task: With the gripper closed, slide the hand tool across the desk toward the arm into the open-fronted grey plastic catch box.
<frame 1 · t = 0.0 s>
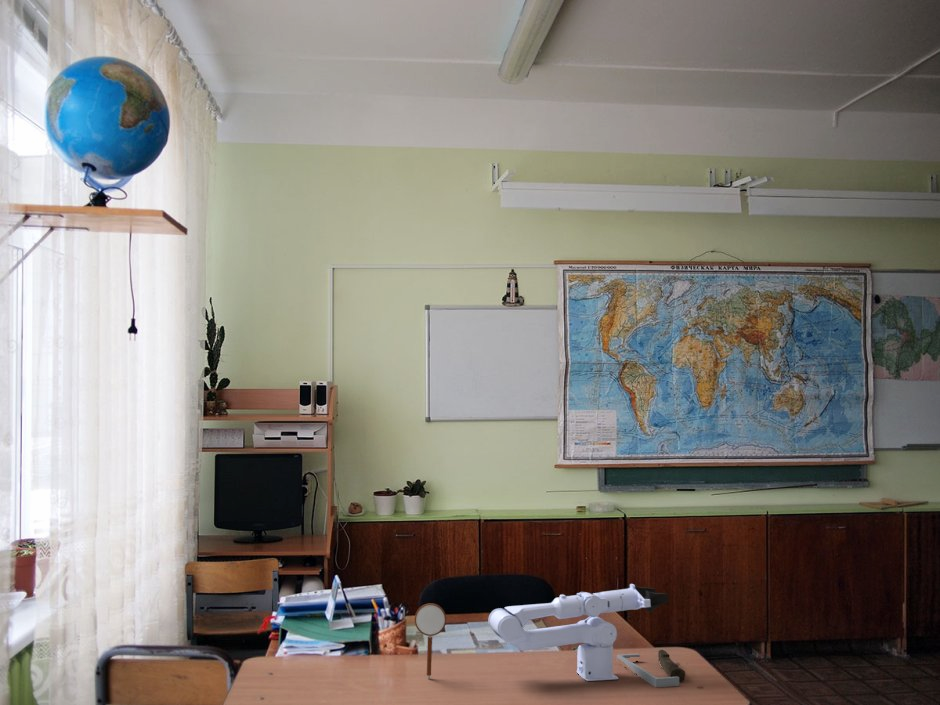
hand: (661, 594, 237), 22 cm above the table, tool horizontal, fingers open, 7 cm apart
catch box: (648, 673, 234), on the table
hand tool: (666, 674, 235), on the table
magnifying glass: (428, 679, 224), on the table
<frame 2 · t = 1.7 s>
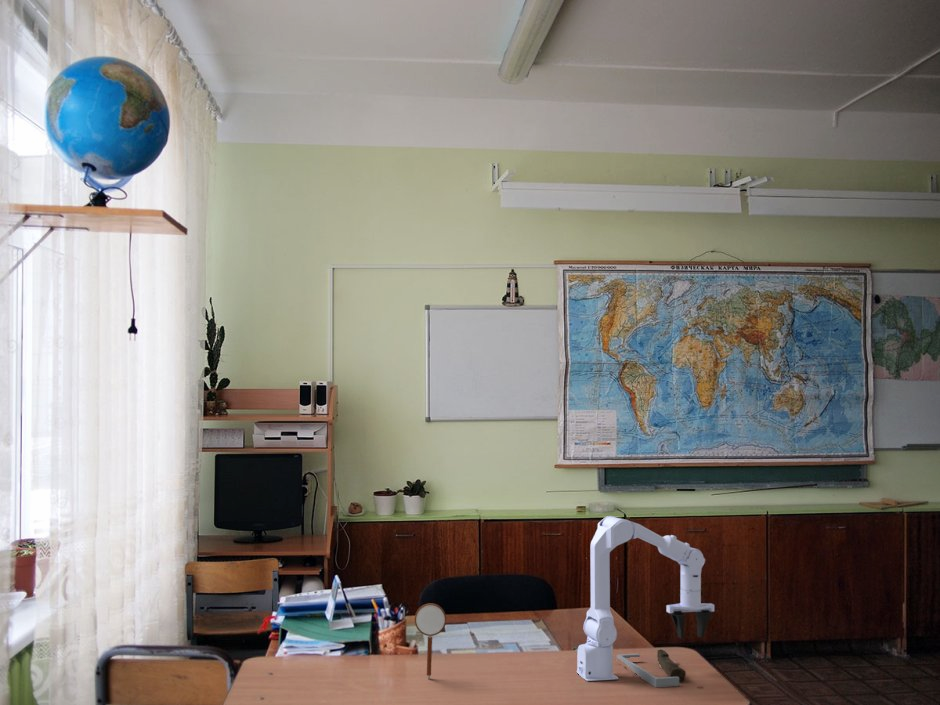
hand: (690, 637, 238), 9 cm above the table, tool pointing down, fingers open, 6 cm apart
nothing on the table moved.
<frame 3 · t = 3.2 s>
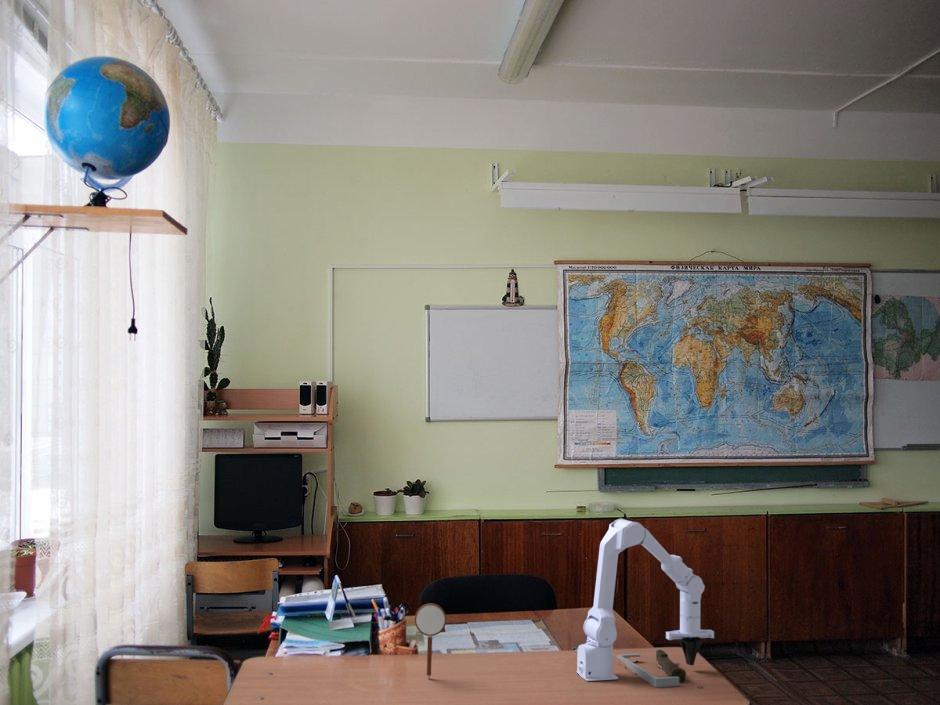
hand: (690, 664, 238), 2 cm above the table, tool pointing down, fingers closed
nothing on the table moved.
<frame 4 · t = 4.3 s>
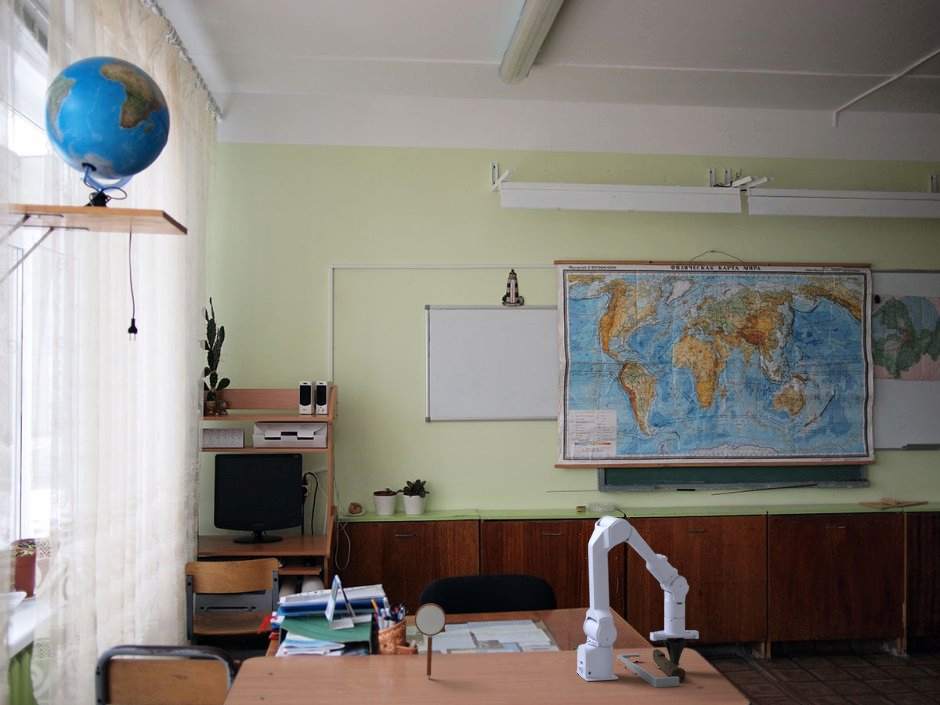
hand: (674, 665, 236), 2 cm above the table, tool pointing down, fingers closed
hand tool: (664, 673, 235), on the table, touching gripper
everything else where it was.
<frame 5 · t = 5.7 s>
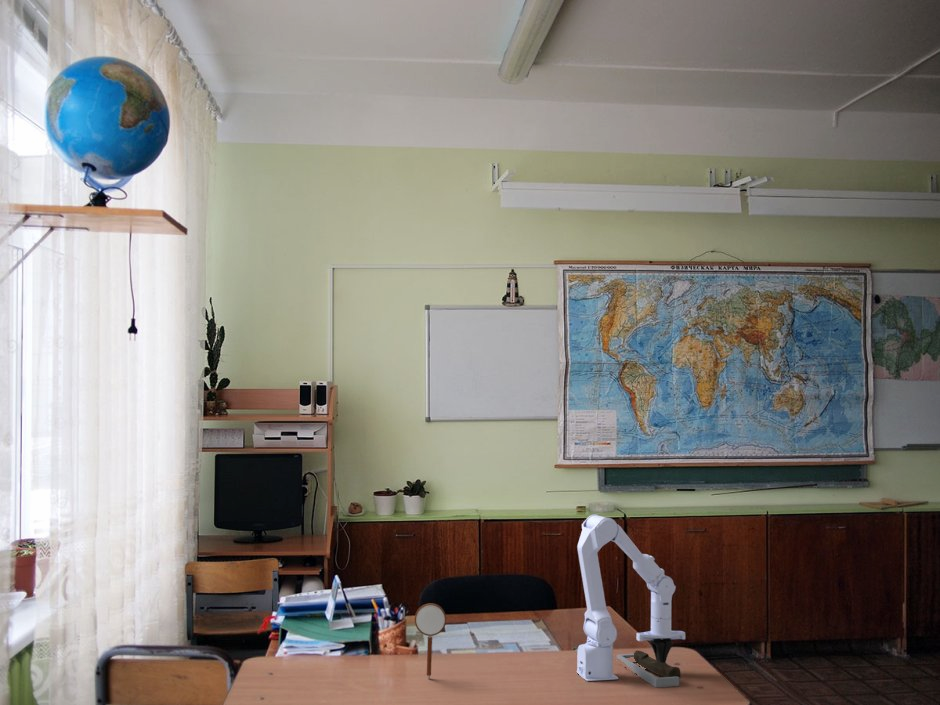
hand: (660, 665, 235), 2 cm above the table, tool pointing down, fingers closed
hand tool: (655, 674, 233), on the table, touching gripper
everything else where it was.
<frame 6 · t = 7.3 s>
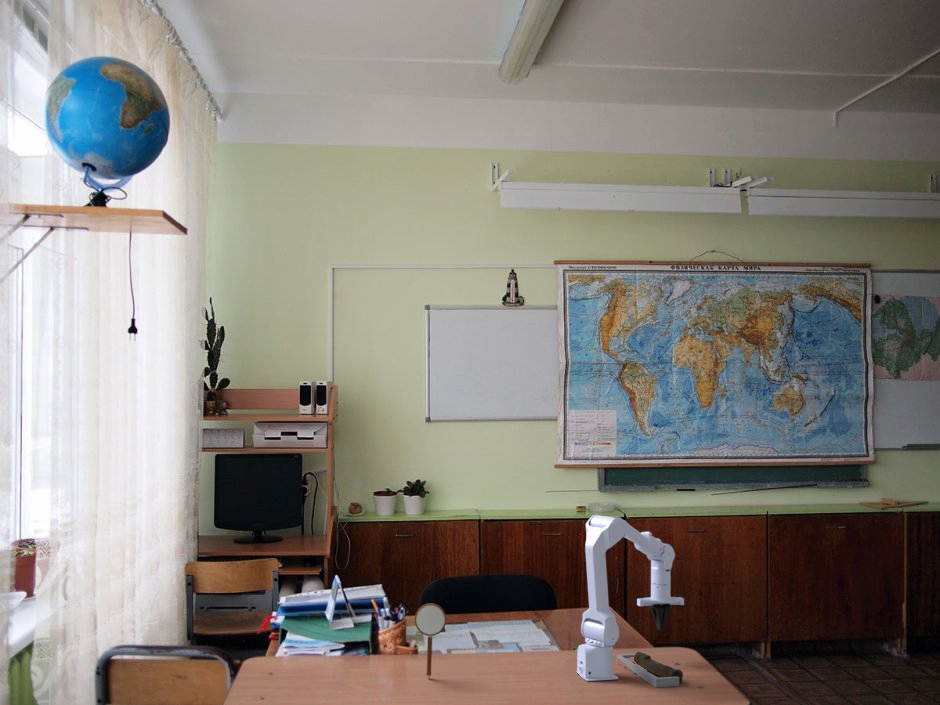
hand: (660, 630, 246), 9 cm above the table, tool pointing down, fingers closed
hand tool: (654, 676, 233), on the table
everything else where it was.
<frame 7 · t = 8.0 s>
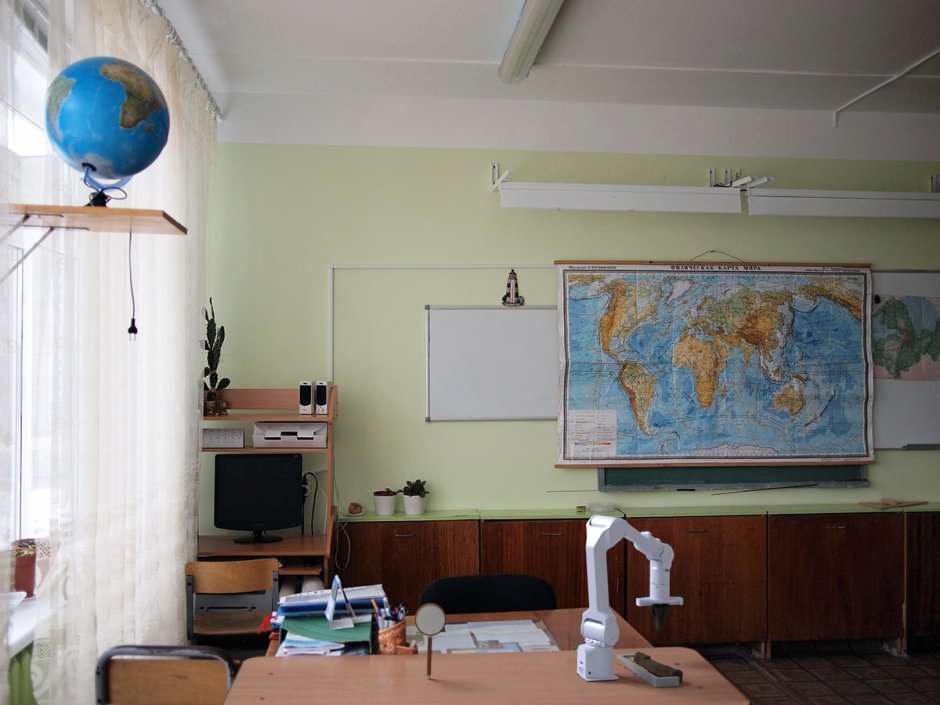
hand: (659, 629, 247), 9 cm above the table, tool pointing down, fingers closed
nothing on the table moved.
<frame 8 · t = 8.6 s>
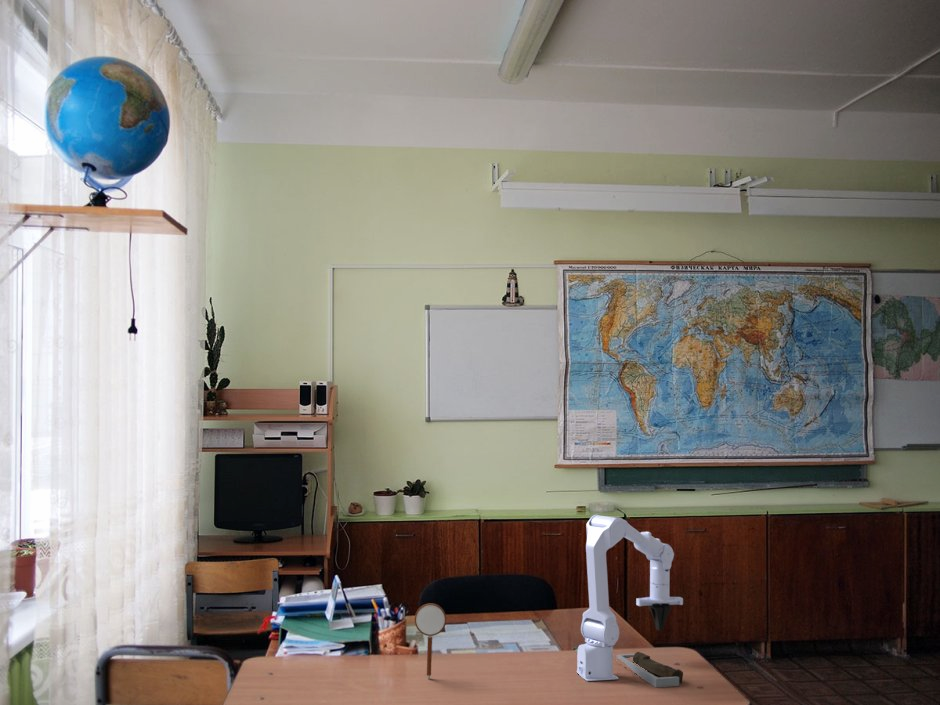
hand: (659, 629, 247), 9 cm above the table, tool pointing down, fingers closed
nothing on the table moved.
at the end: hand tool inside the target area (1.4 cm from its centre), on the table; hand tool moved 5.0 cm from its start; the gripper is holding nothing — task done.
